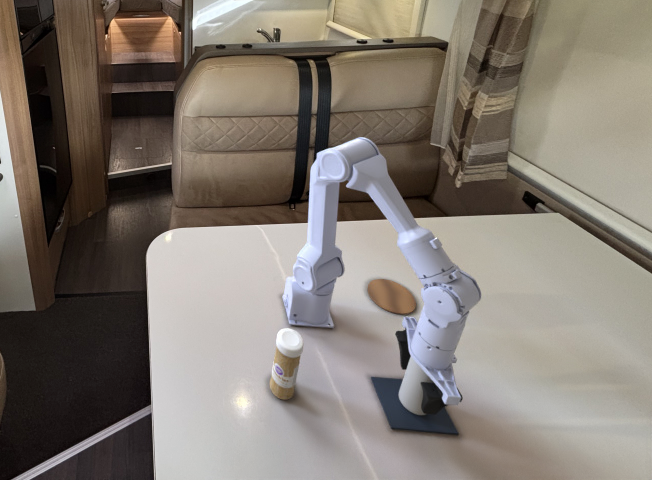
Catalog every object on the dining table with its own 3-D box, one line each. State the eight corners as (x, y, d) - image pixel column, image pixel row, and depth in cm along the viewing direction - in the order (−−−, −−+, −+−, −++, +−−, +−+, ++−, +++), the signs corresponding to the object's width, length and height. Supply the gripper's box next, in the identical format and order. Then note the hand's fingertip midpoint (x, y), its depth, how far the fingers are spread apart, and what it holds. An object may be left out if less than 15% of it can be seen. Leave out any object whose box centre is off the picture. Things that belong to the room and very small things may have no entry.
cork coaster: (377, 313, 96) (377, 311, 96) (360, 278, 105) (361, 277, 105) (424, 316, 95) (424, 314, 95) (403, 281, 104) (403, 280, 104)
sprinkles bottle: (265, 390, 80) (272, 339, 75) (275, 371, 83) (283, 322, 78) (288, 406, 77) (298, 355, 72) (298, 387, 81) (308, 336, 76)
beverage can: (433, 420, 75) (451, 373, 70) (403, 414, 76) (419, 368, 71) (422, 392, 79) (438, 347, 74) (394, 387, 80) (408, 342, 75)
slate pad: (391, 429, 74) (391, 427, 74) (370, 378, 82) (371, 376, 82) (458, 435, 73) (459, 433, 73) (430, 383, 81) (431, 381, 81)
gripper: (491, 380, 64) (465, 436, 69) (438, 300, 77) (420, 352, 82) (441, 376, 64) (420, 432, 69) (397, 298, 78) (382, 350, 83)
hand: (417, 389), depth 76 cm, fingers open, 7 cm apart
